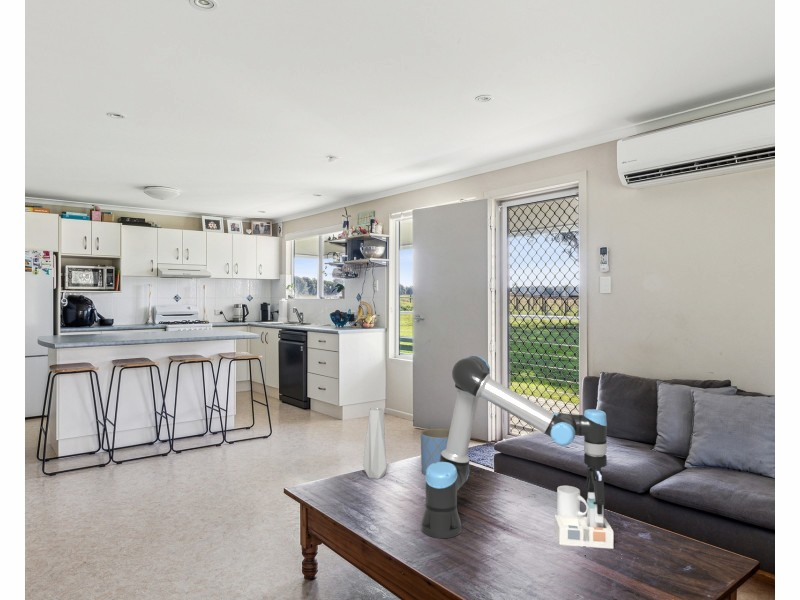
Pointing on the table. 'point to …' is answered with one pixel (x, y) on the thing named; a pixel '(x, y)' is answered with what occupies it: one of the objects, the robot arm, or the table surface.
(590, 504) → the plug
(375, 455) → the vase
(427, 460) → the planter
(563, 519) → the socket box
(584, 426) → the robot arm
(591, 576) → the table surface
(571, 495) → the mug
